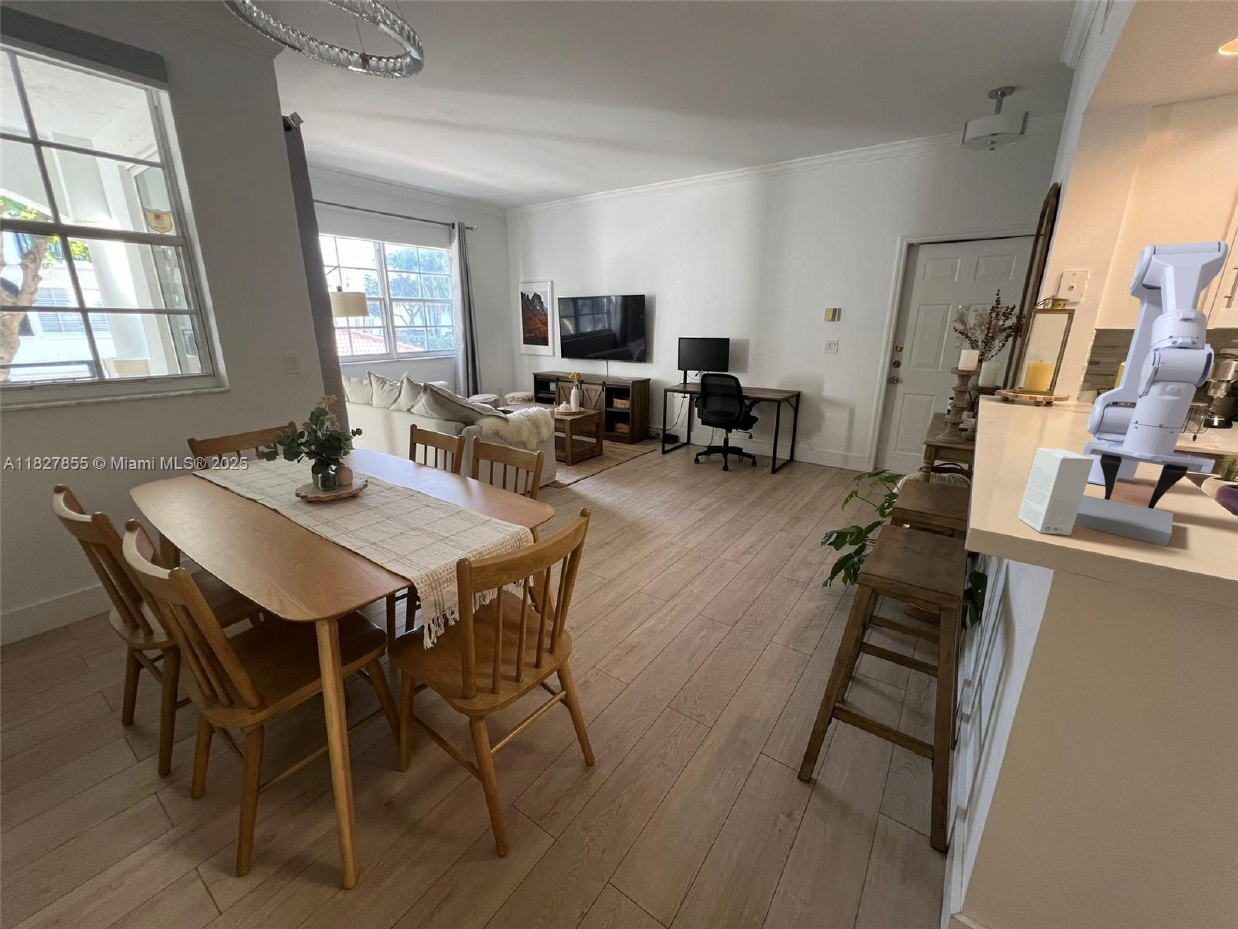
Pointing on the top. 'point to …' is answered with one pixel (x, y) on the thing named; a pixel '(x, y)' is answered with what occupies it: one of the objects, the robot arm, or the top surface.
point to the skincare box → (1055, 490)
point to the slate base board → (1125, 520)
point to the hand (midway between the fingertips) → (1128, 503)
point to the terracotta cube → (1132, 492)
